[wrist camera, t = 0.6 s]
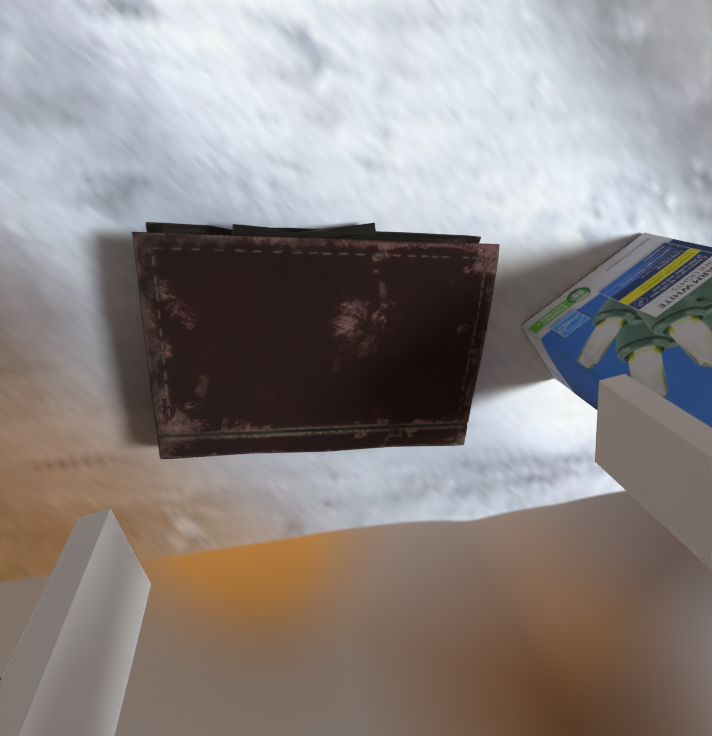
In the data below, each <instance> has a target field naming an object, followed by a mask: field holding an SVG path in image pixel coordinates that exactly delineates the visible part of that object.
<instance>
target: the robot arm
mask: <svg viewBox="0 0 712 736" xmlns="http://www.w3.org/2000/svg"><path fill="white" fill-rule="evenodd" d="M595 462H596V463H597V464H598V465H599V466H601V467H602V468H603V469H604V470H605V471H606V472H607V473H608V474H609V475H610V476H611V477H612V478H613V479H614V480H616V481H617V482H618V483H619V484H620V485H621V486H622V487H623V488H624V489H625V490H626V491H627V492H628V493H629V494H631V495H632V496H633V497H634V498H635V499H636V500H637V501H638V502H639V503H640V504H641V505H642V506H643V507H645V509H647V510H648V511H649V512H650V513H651V514H652V515H653V516H654V517H655V518H656V519H657V520H658V521H659V522H660V523H662V524H663V525H664V526H665V527H666V528H667V529H668V530H669V531H670V532H671V533H672V534H673V535H674V536H675V537H677V538H678V539H679V540H680V541H681V542H682V543H683V544H684V545H685V546H686V547H687V548H688V549H689V550H690V551H692V552H693V553H694V554H695V555H696V556H697V557H698V558H699V559H700V560H701V561H702V562H703V563H704V564H705V565H707V566H708V567H709V568H710V569H711V570H712V428H711V427H710V426H708V425H706V424H705V423H703V422H702V421H700V420H698V419H697V418H695V417H694V416H692V415H690V414H689V413H687V412H686V411H684V410H682V409H681V408H679V407H677V406H676V405H674V404H673V403H671V402H669V401H668V400H666V399H665V398H663V397H661V396H660V395H658V394H657V393H655V392H653V391H652V390H650V389H648V388H647V387H645V386H644V385H642V384H640V383H639V382H637V381H636V380H634V379H632V378H631V377H629V376H628V375H626V374H623V375H619V376H615V377H611V378H607V379H603V380H600V381H599V392H598V411H597V431H596V451H595ZM150 586H151V584H150V582H149V580H148V578H147V576H146V574H145V572H144V570H143V569H142V567H141V565H140V563H139V561H138V559H137V557H136V555H135V554H134V552H133V550H132V548H131V546H130V544H129V542H128V540H127V539H126V537H125V535H124V533H123V531H122V529H121V527H120V525H119V524H118V522H117V520H116V518H115V516H114V514H113V512H112V510H111V509H106V510H102V511H99V512H95V513H91V514H87V515H83V516H80V517H79V518H78V520H77V522H76V524H75V526H74V528H73V530H72V532H71V534H70V536H69V539H68V541H67V543H66V545H65V547H64V549H63V551H62V553H61V555H60V557H59V559H58V561H57V564H56V566H55V568H54V570H53V572H52V574H51V576H50V578H49V580H48V583H47V584H46V586H45V589H44V591H43V593H42V595H41V597H40V599H39V601H38V603H37V605H36V607H35V609H34V612H33V614H32V616H31V618H30V620H29V622H28V624H27V626H26V628H25V630H24V632H23V634H22V636H21V639H20V641H19V643H18V645H17V647H16V649H15V651H14V653H13V656H12V657H11V659H10V662H9V664H8V666H7V668H6V670H5V672H4V674H3V676H2V678H0V736H114V735H115V730H116V727H117V723H118V719H119V714H120V710H121V706H122V702H123V698H124V694H125V690H126V685H127V681H128V677H129V673H130V669H131V665H132V661H133V656H134V652H135V648H136V643H137V640H138V636H139V631H140V628H141V623H142V619H143V615H144V611H145V607H146V603H147V599H148V594H149V590H150Z"/></svg>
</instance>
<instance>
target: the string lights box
mask: <svg viewBox="0 0 712 736" xmlns="http://www.w3.org/2000/svg"><path fill="white" fill-rule="evenodd" d="M522 328H523V330H524V331H525V333H526V335H527V337H528V338H529V340H530V341H531V343H532V344H533V346H534V348H535V349H536V351H537V352H538V354H539V355H540V357H541V359H542V360H543V362H544V363H545V365H546V367H547V368H548V370H549V371H550V373H551V375H552V376H553V378H555V379H556V380H558V381H559V382H561V383H562V384H563V385H565V386H566V387H567V388H569V389H570V390H571V391H572V392H574V393H575V394H576V395H578V396H579V397H580V398H582V399H583V400H584V401H586V402H587V403H588V404H590V405H591V406H592V407H594V408H595V409H596V410H598V392H599V381H600V380H603V379H607V378H611V377H615V376H619V375H623V374H626V375H628V376H629V377H631V378H632V379H634V380H636V381H637V382H639V383H640V384H642V385H644V386H645V387H647V388H648V389H650V390H652V391H653V392H655V393H657V394H658V395H660V396H661V397H663V398H665V399H666V400H668V401H669V402H671V403H673V404H674V405H676V406H677V407H679V408H681V409H682V410H684V411H686V412H687V413H689V414H690V415H692V416H694V417H695V418H697V419H698V420H700V421H702V422H703V423H705V424H706V425H708V426H710V427H711V428H712V247H708V246H703V245H698V244H694V243H689V242H684V241H680V240H675V239H670V238H666V237H662V236H657V235H652V234H648V233H643V234H642V235H640V236H639V237H638V238H636V239H635V240H634V241H632V242H631V243H630V244H629V245H627V246H626V247H625V248H623V249H622V250H621V251H619V252H618V253H617V254H615V255H614V256H613V257H611V258H610V259H609V260H607V261H606V262H605V263H603V264H602V265H601V266H599V267H598V268H597V269H595V270H594V271H593V272H591V273H590V274H589V275H587V276H586V277H585V278H583V279H582V280H581V281H579V282H578V283H577V284H575V285H574V286H573V287H571V288H570V289H569V290H567V291H566V292H565V293H564V294H562V295H561V296H560V297H558V298H557V299H556V300H554V301H553V302H552V303H550V304H549V305H548V306H546V307H545V308H544V309H542V310H541V311H540V312H538V313H537V314H536V315H534V316H533V317H532V318H530V319H529V320H528V321H526V322H525V323H524V324H523V325H522Z"/></svg>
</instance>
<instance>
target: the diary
mask: <svg viewBox="0 0 712 736" xmlns="http://www.w3.org/2000/svg"><path fill="white" fill-rule="evenodd" d="M147 232H148V233H146V232H132V234H133V242H134V251H135V259H136V268H137V277H138V285H139V294H140V303H141V311H142V320H143V328H144V337H145V345H146V354H147V362H148V370H149V377H150V385H151V392H152V400H153V407H154V415H155V422H156V429H157V435H158V446H159V454H160V458H161V459H176V458H191V457H206V456H220V455H235V454H249V453H289V452H327V451H340V450H354V449H367V448H381V447H400V446H456V445H464V442H465V436H466V431H467V423H468V420H469V414H470V409H471V404H472V398H473V394H474V389H475V384H476V380H477V375H478V371H479V366H480V361H481V357H482V351H483V346H484V340H485V335H486V330H487V324H488V319H489V313H490V308H491V301H492V295H493V289H494V282H495V276H496V270H497V263H498V256H499V244H479V242H480V239H481V237H478V236H466V235H446V234H426V233H406V232H377V231H375V223H369V224H362V225H355V226H348V227H340V228H332V229H322V230H321V229H302V228H268V227H258V226H247V225H236V224H233V230H229V229H224V228H219V227H214V226H207V225H191V224H174V223H155V222H147Z"/></svg>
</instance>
